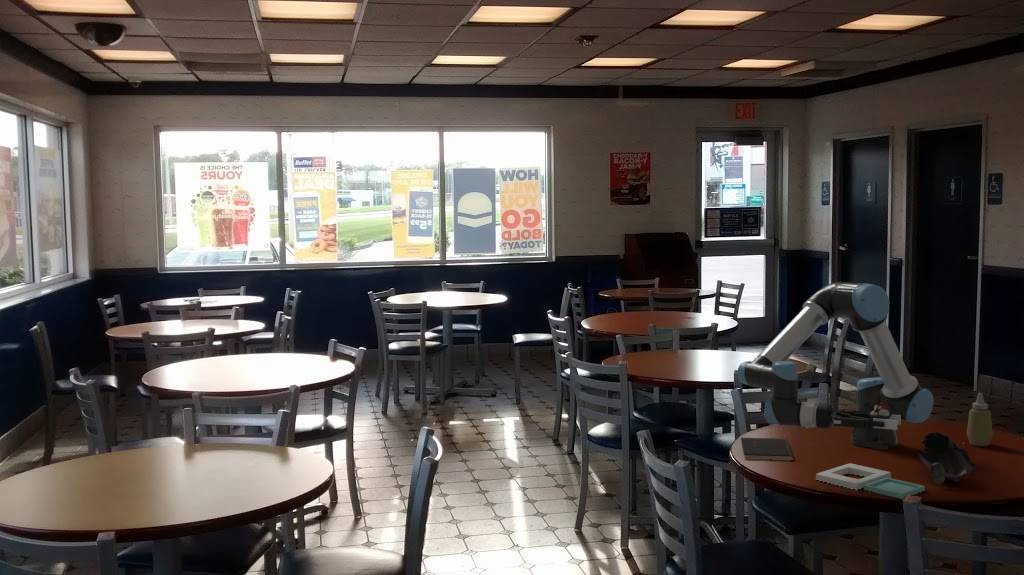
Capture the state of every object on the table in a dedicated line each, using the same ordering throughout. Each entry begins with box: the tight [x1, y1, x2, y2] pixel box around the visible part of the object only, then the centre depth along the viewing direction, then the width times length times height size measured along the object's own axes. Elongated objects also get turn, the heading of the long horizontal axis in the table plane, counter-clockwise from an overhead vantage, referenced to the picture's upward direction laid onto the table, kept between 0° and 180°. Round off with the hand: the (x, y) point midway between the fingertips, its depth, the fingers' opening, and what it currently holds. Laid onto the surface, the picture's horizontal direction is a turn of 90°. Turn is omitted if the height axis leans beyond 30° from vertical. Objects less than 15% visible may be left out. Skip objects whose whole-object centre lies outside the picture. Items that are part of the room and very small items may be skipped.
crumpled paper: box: [917, 431, 977, 485], centre depth 286 cm, size 14×15×20 cm
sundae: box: [868, 398, 892, 451], centre depth 277 cm, size 7×7×15 cm
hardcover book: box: [740, 437, 795, 461], centre depth 323 cm, size 16×23×2 cm
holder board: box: [815, 462, 892, 491], centre depth 287 cm, size 18×14×2 cm
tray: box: [863, 477, 926, 500], centre depth 276 cm, size 12×12×1 cm
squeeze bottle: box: [966, 392, 994, 447], centre depth 324 cm, size 8×8×18 cm
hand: (898, 422), depth 274 cm, fingers closed on sundae, 6 cm apart
